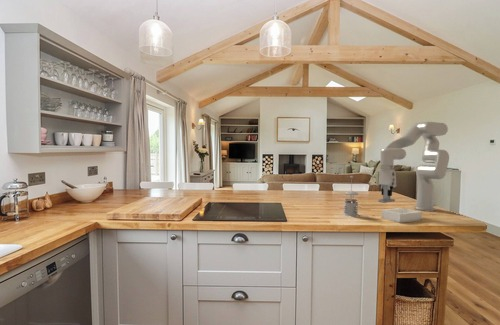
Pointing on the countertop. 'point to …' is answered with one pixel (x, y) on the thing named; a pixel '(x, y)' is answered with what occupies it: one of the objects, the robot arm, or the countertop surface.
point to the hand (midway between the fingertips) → (386, 195)
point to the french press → (351, 204)
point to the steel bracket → (386, 195)
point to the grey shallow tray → (401, 215)
